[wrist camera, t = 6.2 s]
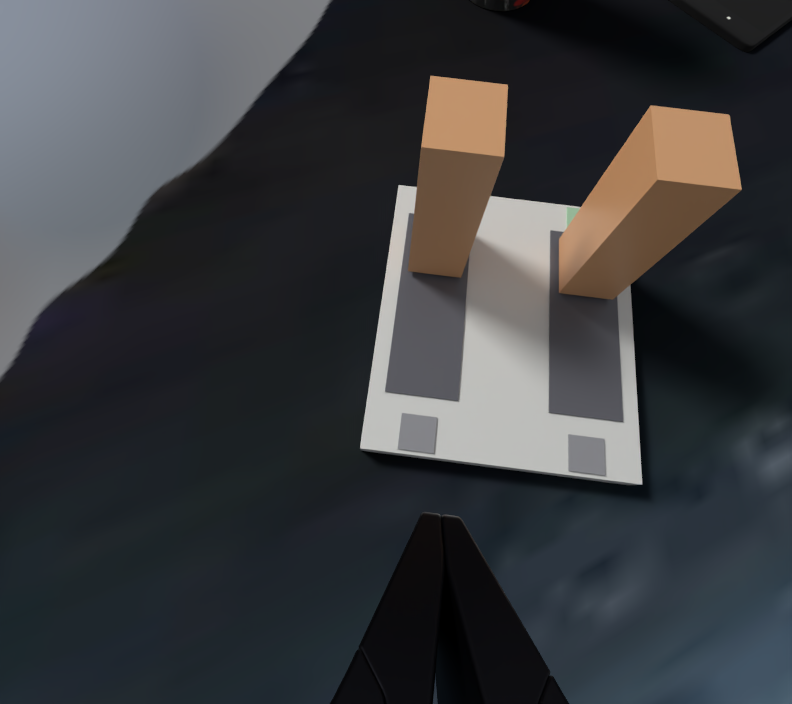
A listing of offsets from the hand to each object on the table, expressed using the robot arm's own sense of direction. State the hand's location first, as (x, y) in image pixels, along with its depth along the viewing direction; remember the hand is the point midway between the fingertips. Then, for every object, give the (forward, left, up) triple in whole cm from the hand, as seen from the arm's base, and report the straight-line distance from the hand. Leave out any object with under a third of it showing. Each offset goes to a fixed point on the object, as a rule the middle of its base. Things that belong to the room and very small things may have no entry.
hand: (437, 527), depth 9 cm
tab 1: (+13, +6, -11) cm, 18 cm away
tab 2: (+16, -2, -11) cm, 20 cm away
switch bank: (+11, +1, -13) cm, 17 cm away
